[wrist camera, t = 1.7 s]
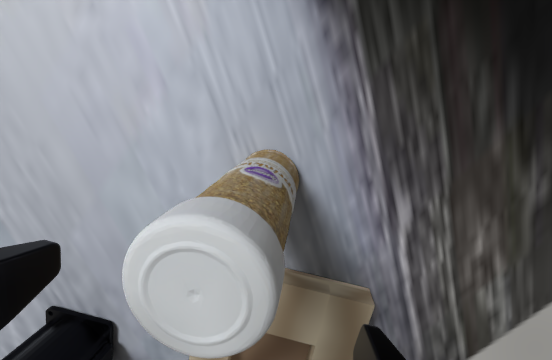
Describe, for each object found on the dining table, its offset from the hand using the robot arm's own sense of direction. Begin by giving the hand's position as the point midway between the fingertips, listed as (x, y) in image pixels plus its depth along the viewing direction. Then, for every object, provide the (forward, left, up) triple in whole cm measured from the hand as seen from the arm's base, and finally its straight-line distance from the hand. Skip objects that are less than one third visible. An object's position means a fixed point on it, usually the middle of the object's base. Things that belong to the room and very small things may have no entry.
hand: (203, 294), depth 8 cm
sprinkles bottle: (0, 0, -13) cm, 13 cm away
